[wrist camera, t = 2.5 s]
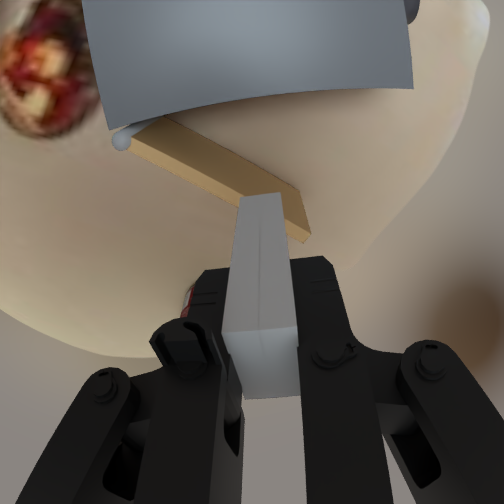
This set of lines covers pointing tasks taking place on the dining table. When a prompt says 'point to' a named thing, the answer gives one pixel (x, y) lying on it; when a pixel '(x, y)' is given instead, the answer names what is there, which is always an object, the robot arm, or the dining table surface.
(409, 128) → the dining table surface
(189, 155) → the side door
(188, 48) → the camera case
